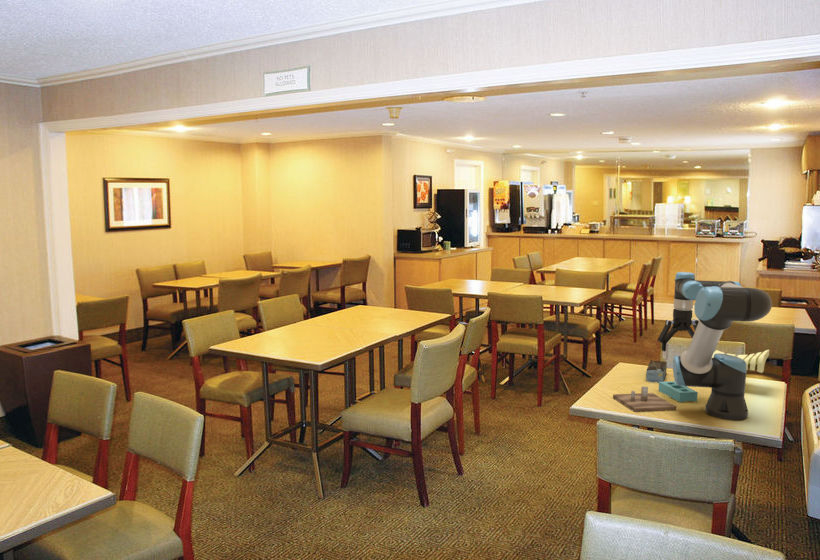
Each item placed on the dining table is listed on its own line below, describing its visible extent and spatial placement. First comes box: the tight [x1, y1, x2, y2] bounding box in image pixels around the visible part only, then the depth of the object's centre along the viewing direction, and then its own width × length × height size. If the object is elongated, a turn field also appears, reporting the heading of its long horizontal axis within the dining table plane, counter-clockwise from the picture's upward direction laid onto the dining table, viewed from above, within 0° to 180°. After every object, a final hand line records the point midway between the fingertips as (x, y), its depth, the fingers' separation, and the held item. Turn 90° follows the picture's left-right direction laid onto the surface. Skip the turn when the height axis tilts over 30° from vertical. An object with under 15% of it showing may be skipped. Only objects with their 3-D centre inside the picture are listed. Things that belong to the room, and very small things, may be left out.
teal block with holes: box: [658, 380, 698, 403], centre depth 273 cm, size 16×8×4 cm, turn 9°
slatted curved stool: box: [712, 349, 770, 374], centre depth 288 cm, size 30×16×18 cm, turn 52°
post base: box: [612, 386, 678, 413], centre depth 262 cm, size 18×18×7 cm
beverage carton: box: [645, 359, 668, 384], centre depth 301 cm, size 8×19×7 cm, turn 154°
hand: (679, 358), depth 271 cm, fingers open, 13 cm apart
